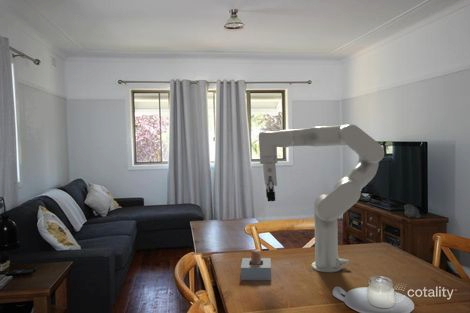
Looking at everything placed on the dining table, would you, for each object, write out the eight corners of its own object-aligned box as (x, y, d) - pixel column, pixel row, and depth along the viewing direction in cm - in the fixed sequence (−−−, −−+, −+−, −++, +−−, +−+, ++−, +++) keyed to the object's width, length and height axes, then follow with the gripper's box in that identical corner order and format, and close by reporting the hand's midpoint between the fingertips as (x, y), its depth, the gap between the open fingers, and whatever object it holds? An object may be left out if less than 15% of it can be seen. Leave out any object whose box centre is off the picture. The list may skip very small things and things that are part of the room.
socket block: (270, 269, 164) (270, 258, 164) (271, 280, 152) (270, 267, 152) (242, 269, 165) (242, 258, 165) (241, 280, 153) (240, 267, 153)
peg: (261, 272, 161) (260, 249, 160) (261, 276, 157) (260, 252, 156) (251, 272, 161) (251, 249, 160) (251, 276, 157) (250, 252, 156)
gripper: (278, 160, 157) (281, 202, 158) (275, 158, 174) (277, 195, 175) (260, 161, 157) (262, 203, 158) (259, 159, 175) (261, 196, 175)
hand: (270, 199), depth 167 cm, fingers open, 9 cm apart
